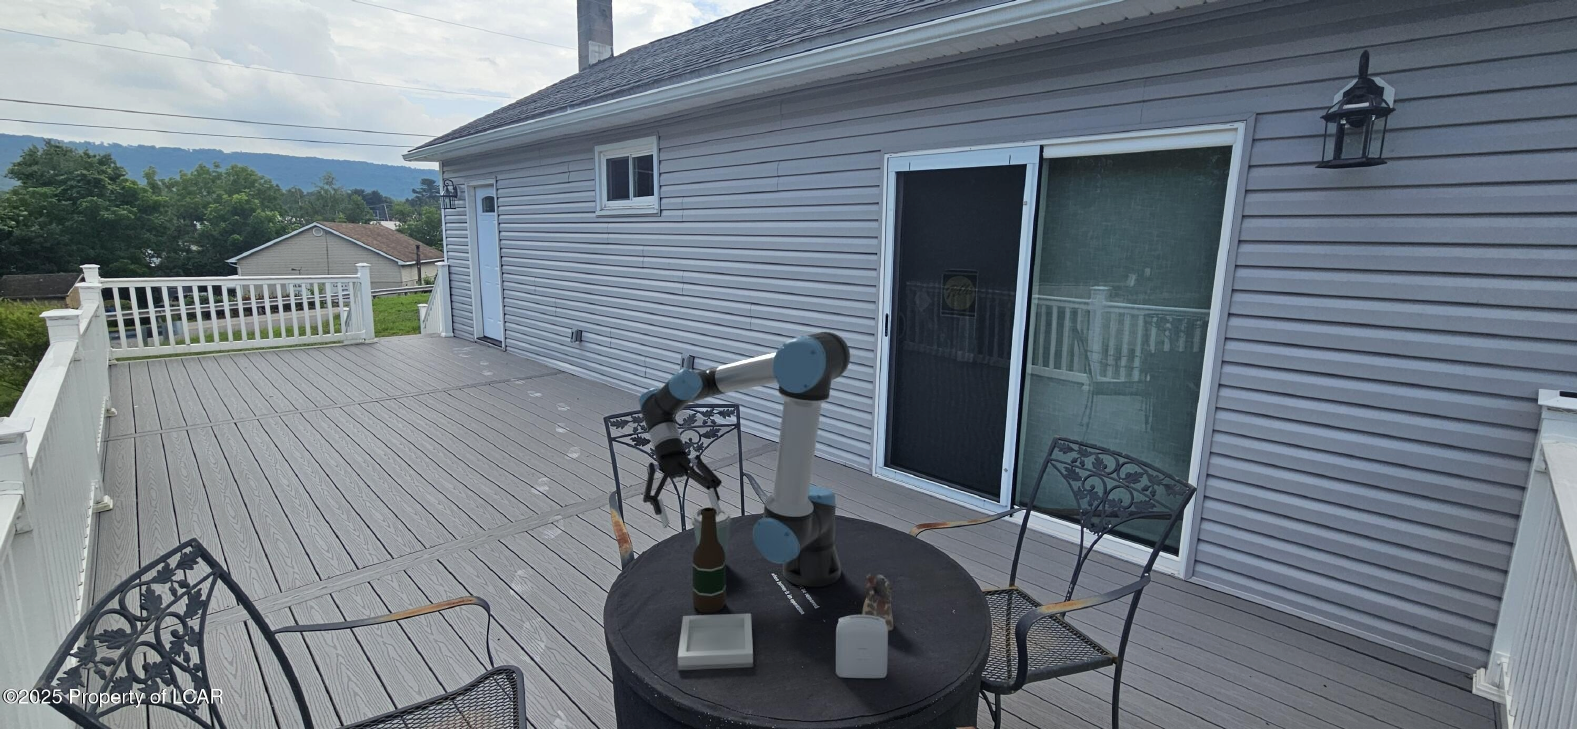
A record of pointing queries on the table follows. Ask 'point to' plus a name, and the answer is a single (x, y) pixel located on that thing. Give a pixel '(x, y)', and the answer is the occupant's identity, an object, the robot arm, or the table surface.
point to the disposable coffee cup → (721, 524)
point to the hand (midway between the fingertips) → (693, 520)
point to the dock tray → (715, 642)
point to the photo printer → (861, 647)
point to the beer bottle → (709, 567)
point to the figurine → (879, 599)
